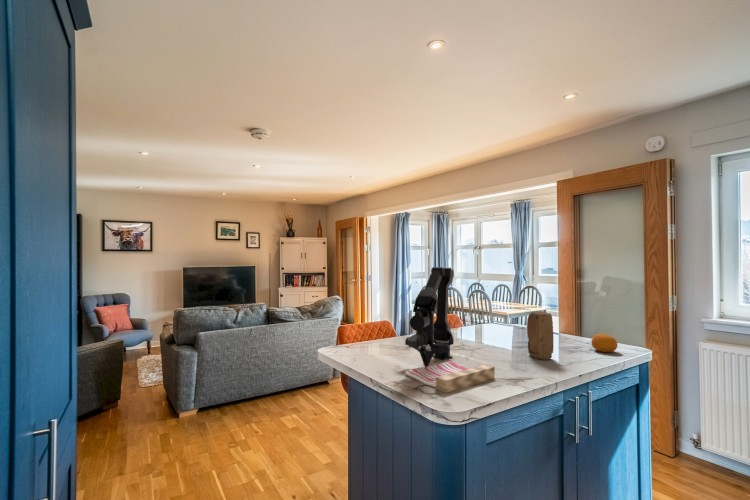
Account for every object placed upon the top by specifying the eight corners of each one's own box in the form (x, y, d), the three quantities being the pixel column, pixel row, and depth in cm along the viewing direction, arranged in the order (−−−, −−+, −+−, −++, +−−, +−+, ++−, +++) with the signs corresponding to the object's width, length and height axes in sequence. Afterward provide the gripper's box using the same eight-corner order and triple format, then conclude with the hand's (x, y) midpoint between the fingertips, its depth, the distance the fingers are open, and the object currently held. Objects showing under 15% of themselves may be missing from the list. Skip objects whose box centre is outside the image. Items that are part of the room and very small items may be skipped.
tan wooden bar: (485, 375, 140) (485, 364, 140) (494, 378, 136) (494, 366, 137) (436, 389, 124) (436, 377, 124) (445, 393, 121) (445, 380, 121)
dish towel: (481, 378, 138) (481, 368, 138) (435, 390, 125) (435, 379, 125) (448, 367, 152) (448, 358, 152) (403, 376, 139) (403, 367, 139)
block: (555, 360, 161) (554, 313, 162) (539, 361, 160) (539, 313, 160) (539, 353, 172) (539, 310, 172) (524, 354, 170) (524, 310, 171)
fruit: (623, 353, 173) (623, 336, 173) (602, 354, 171) (602, 336, 171) (606, 348, 183) (606, 332, 183) (586, 349, 182) (586, 332, 182)
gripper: (395, 325, 149) (394, 364, 149) (428, 332, 134) (428, 376, 134) (415, 322, 156) (415, 360, 155) (449, 329, 141) (449, 371, 141)
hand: (426, 366), depth 146 cm, fingers closed
